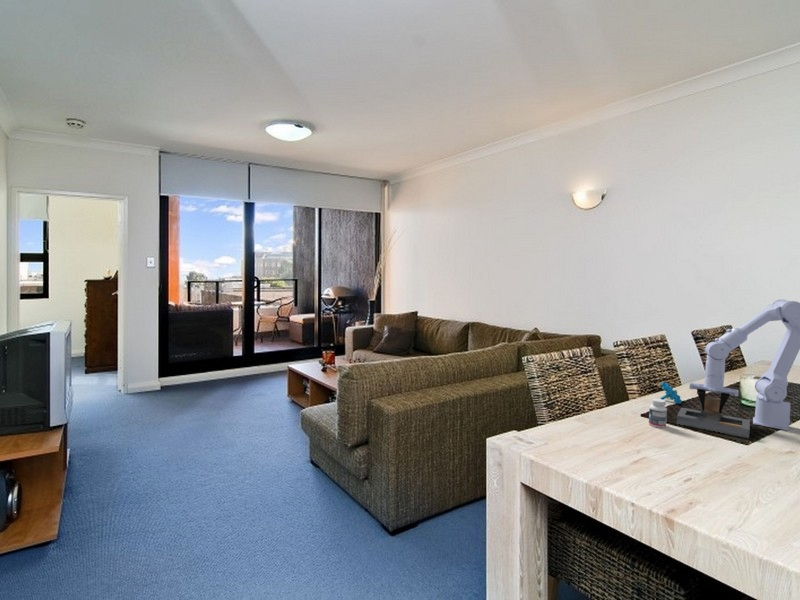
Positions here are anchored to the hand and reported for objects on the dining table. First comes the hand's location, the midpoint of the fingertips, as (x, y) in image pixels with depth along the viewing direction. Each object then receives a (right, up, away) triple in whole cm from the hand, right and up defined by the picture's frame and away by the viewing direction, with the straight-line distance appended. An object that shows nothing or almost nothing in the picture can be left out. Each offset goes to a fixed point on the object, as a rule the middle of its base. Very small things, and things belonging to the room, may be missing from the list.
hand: (711, 411), depth 164 cm
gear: (-3, -1, +19) cm, 20 cm away
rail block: (-6, -3, -9) cm, 11 cm away
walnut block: (0, -2, 0) cm, 2 cm away
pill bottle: (-25, -3, -9) cm, 27 cm away
